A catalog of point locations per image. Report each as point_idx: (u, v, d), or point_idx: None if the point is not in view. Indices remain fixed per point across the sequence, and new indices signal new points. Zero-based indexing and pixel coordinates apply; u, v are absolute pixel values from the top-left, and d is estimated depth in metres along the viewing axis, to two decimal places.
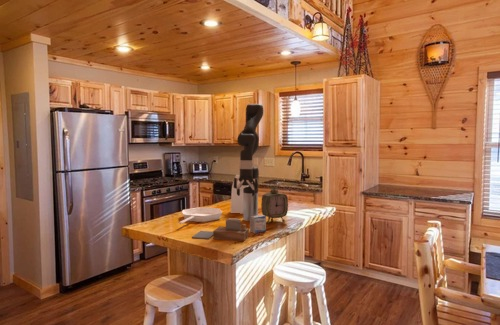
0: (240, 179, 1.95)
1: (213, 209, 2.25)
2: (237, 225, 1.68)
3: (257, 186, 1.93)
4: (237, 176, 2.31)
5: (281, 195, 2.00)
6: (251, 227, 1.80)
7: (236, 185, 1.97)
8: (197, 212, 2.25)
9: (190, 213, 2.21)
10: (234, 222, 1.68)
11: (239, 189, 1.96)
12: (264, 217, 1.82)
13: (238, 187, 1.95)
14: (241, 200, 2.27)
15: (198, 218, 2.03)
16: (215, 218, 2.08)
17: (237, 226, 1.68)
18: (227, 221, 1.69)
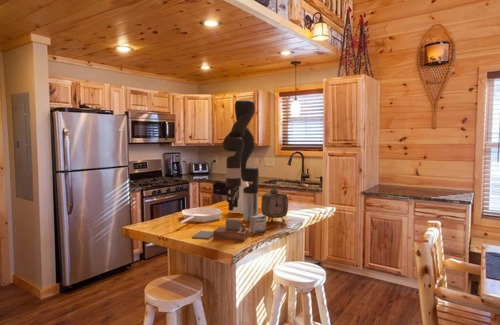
0: (233, 190, 1.66)
1: (213, 209, 2.24)
2: (237, 225, 1.68)
3: (238, 195, 1.76)
4: None
5: (281, 195, 2.00)
6: (251, 227, 1.80)
7: (228, 199, 1.64)
8: (197, 212, 2.24)
9: (190, 213, 2.21)
10: (234, 222, 1.68)
11: None
12: (264, 217, 1.82)
13: (233, 200, 1.65)
14: (241, 200, 2.27)
15: (198, 218, 2.02)
16: (215, 218, 2.08)
17: (237, 226, 1.68)
18: (227, 221, 1.69)
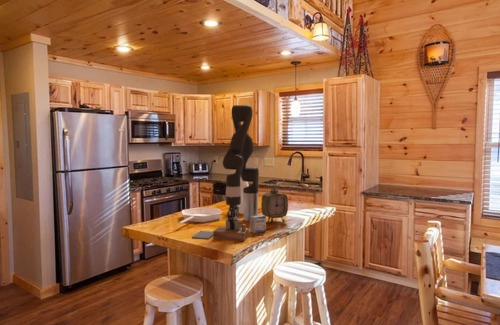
0: (233, 210, 1.66)
1: (213, 209, 2.24)
2: (237, 225, 1.68)
3: (237, 215, 1.74)
4: None
5: (281, 195, 2.00)
6: (251, 227, 1.80)
7: (229, 218, 1.66)
8: (197, 212, 2.24)
9: (190, 213, 2.21)
10: (234, 222, 1.68)
11: None
12: (264, 217, 1.81)
13: (234, 219, 1.68)
14: (241, 200, 2.27)
15: (198, 218, 2.02)
16: (215, 218, 2.07)
17: (237, 226, 1.68)
18: (227, 221, 1.69)
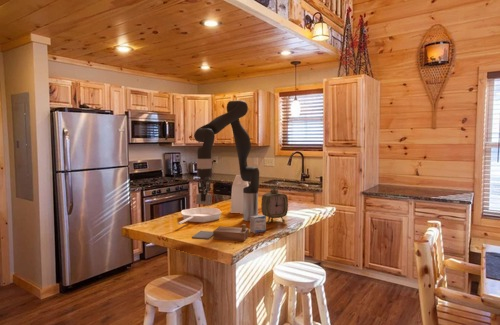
0: (204, 182, 1.69)
1: (212, 209, 2.23)
2: (207, 199, 1.71)
3: (209, 188, 1.77)
4: (237, 176, 2.31)
5: (281, 195, 2.00)
6: (251, 227, 1.80)
7: (200, 190, 1.69)
8: (196, 212, 2.23)
9: (189, 213, 2.20)
10: None
11: None
12: (264, 217, 1.82)
13: (205, 191, 1.70)
14: (241, 200, 2.27)
15: (197, 218, 2.01)
16: (214, 218, 2.07)
17: (207, 200, 1.71)
18: (198, 195, 1.72)
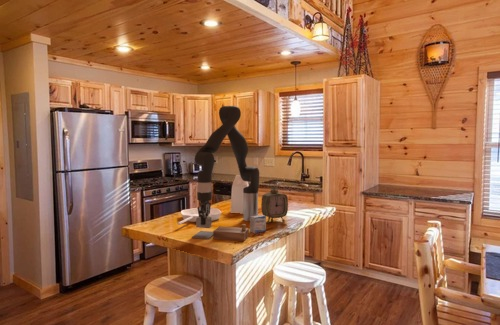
0: (204, 206, 1.70)
1: (212, 209, 2.23)
2: (207, 222, 1.71)
3: (209, 211, 1.78)
4: (237, 176, 2.31)
5: (281, 195, 2.00)
6: (251, 227, 1.80)
7: (200, 213, 1.70)
8: (196, 212, 2.23)
9: (189, 213, 2.20)
10: None
11: None
12: (264, 217, 1.81)
13: (205, 215, 1.71)
14: (241, 200, 2.27)
15: None
16: (214, 218, 2.07)
17: (207, 223, 1.71)
18: (198, 218, 1.72)
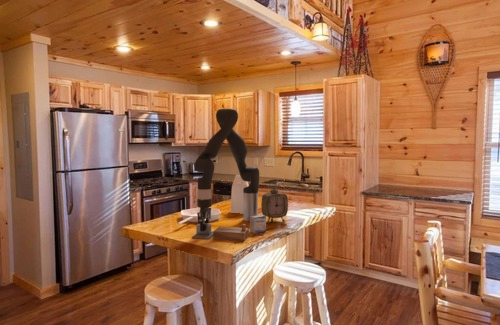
0: (204, 212, 1.70)
1: (212, 209, 2.23)
2: (207, 230, 1.72)
3: (210, 216, 1.79)
4: (237, 176, 2.31)
5: (281, 195, 2.00)
6: (251, 227, 1.80)
7: (199, 220, 1.69)
8: (196, 213, 2.23)
9: (189, 214, 2.20)
10: None
11: None
12: (264, 217, 1.81)
13: (204, 221, 1.70)
14: (241, 200, 2.27)
15: (197, 219, 2.01)
16: (214, 219, 2.06)
17: (207, 231, 1.72)
18: (198, 226, 1.73)
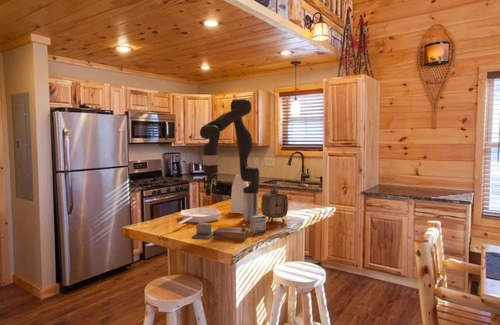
0: (210, 177, 1.72)
1: (212, 210, 2.23)
2: (207, 230, 1.72)
3: None
4: (237, 176, 2.31)
5: (281, 195, 2.00)
6: (251, 227, 1.80)
7: (205, 185, 1.70)
8: (196, 213, 2.23)
9: (189, 214, 2.19)
10: (204, 227, 1.72)
11: None
12: (264, 217, 1.82)
13: (210, 186, 1.71)
14: (241, 200, 2.27)
15: (197, 219, 2.01)
16: (214, 219, 2.06)
17: (207, 231, 1.72)
18: (198, 226, 1.73)
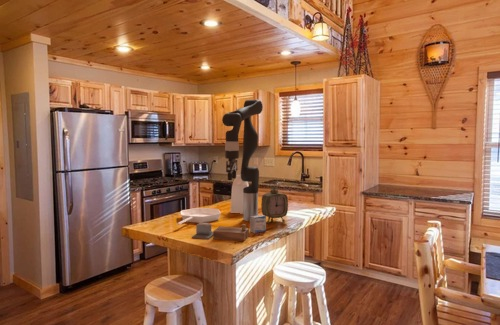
0: (232, 162, 1.81)
1: (212, 210, 2.22)
2: (207, 230, 1.72)
3: None
4: (237, 176, 2.31)
5: (281, 195, 2.00)
6: (251, 227, 1.80)
7: (227, 169, 1.79)
8: (195, 213, 2.22)
9: (188, 214, 2.19)
10: (204, 227, 1.72)
11: None
12: (264, 217, 1.81)
13: (232, 171, 1.80)
14: (241, 200, 2.27)
15: (196, 219, 2.00)
16: (214, 219, 2.06)
17: (207, 231, 1.72)
18: (198, 226, 1.73)
